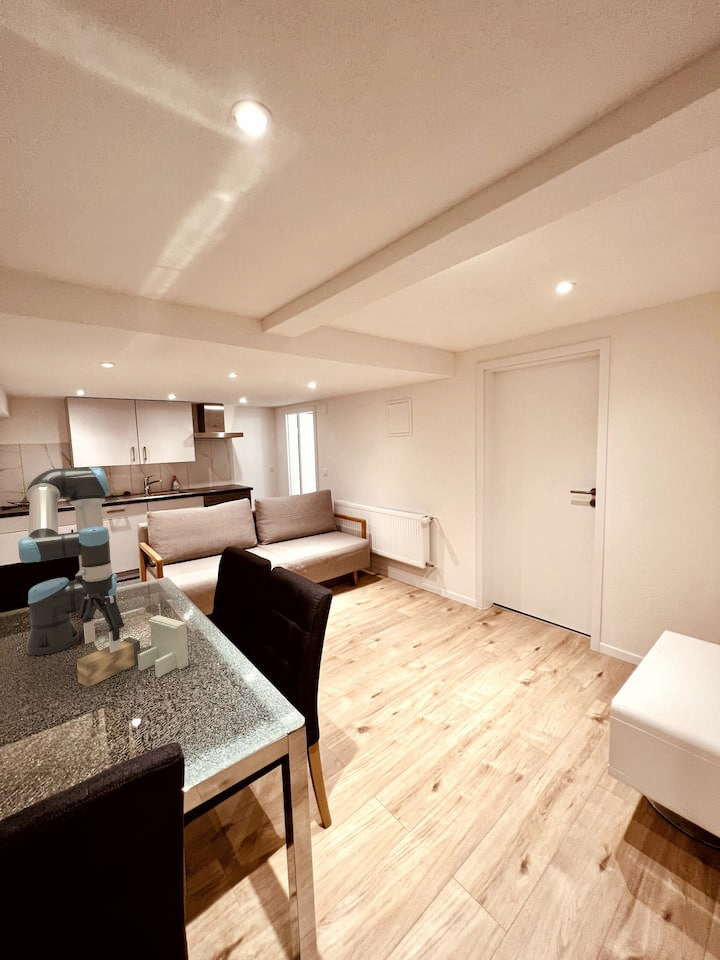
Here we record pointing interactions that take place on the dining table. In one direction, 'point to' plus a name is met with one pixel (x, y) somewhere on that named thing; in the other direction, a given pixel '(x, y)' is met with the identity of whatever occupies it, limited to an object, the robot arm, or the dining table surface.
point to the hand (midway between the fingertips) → (102, 646)
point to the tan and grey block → (107, 662)
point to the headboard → (165, 646)
